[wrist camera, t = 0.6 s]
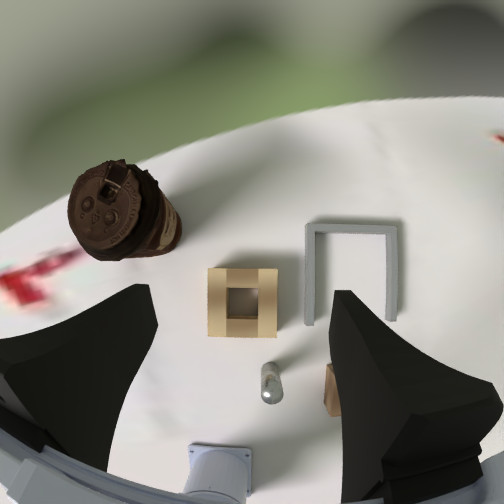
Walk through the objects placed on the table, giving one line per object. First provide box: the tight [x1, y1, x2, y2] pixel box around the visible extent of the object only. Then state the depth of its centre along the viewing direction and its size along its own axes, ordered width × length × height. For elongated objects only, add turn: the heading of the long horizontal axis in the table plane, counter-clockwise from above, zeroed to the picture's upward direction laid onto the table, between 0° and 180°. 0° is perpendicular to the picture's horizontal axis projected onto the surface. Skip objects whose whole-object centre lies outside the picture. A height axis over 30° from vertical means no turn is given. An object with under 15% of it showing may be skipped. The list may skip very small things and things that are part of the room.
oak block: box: [208, 268, 278, 338], centre depth 30 cm, size 7×7×3 cm
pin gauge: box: [261, 362, 283, 404], centre depth 28 cm, size 2×2×7 cm
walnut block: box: [324, 365, 341, 417], centre depth 29 cm, size 5×5×4 cm
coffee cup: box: [67, 159, 182, 261], centre depth 26 cm, size 9×8×13 cm
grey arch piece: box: [304, 223, 398, 326], centre depth 31 cm, size 11×11×2 cm
